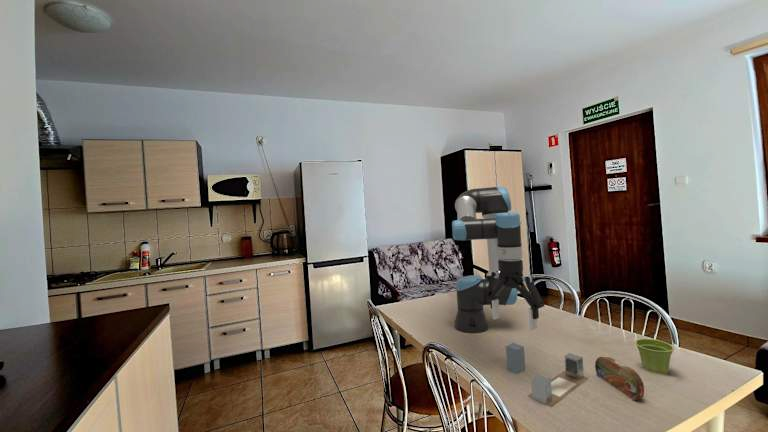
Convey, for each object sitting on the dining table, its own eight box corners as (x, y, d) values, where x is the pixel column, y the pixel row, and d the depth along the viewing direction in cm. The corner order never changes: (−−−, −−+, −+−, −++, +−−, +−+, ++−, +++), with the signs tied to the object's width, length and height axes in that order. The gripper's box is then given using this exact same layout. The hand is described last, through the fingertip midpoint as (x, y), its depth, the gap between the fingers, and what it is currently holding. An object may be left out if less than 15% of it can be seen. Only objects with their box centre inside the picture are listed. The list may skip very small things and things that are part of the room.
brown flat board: (527, 400, 92) (527, 395, 92) (565, 373, 104) (565, 369, 104) (552, 411, 86) (551, 406, 86) (589, 382, 99) (589, 377, 99)
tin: (594, 378, 101) (593, 352, 100) (604, 377, 101) (602, 351, 101) (636, 408, 86) (635, 376, 85) (647, 406, 86) (646, 375, 86)
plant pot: (678, 382, 96) (677, 353, 96) (638, 375, 101) (637, 347, 101) (671, 368, 104) (670, 341, 104) (634, 362, 109) (633, 336, 108)
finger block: (507, 372, 107) (505, 346, 107) (515, 368, 110) (514, 342, 110) (518, 377, 104) (516, 349, 104) (526, 372, 107) (525, 345, 107)
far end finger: (564, 375, 101) (563, 356, 101) (570, 371, 103) (569, 353, 103) (578, 380, 98) (577, 361, 98) (583, 376, 100) (582, 357, 100)
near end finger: (532, 398, 91) (531, 377, 91) (539, 393, 93) (538, 372, 93) (546, 404, 87) (545, 382, 87) (553, 399, 89) (551, 378, 89)
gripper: (472, 257, 114) (476, 317, 114) (540, 264, 94) (545, 336, 94) (485, 255, 119) (489, 312, 119) (554, 260, 98) (558, 330, 98)
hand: (513, 323), depth 106 cm, fingers open, 13 cm apart
